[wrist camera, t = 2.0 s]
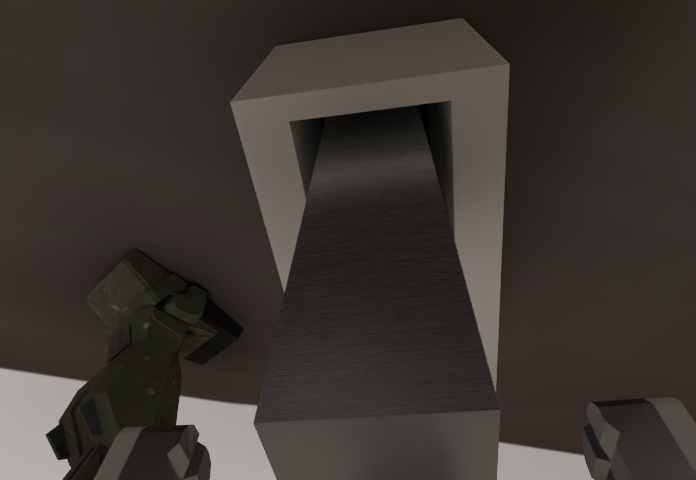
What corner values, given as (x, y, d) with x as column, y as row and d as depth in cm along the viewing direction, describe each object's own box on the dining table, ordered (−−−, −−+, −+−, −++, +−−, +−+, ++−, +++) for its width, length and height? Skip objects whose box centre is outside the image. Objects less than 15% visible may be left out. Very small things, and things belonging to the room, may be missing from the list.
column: (335, 76, 26) (252, 422, 8) (408, 65, 26) (501, 408, 7) (347, 151, 29) (304, 549, 10) (413, 143, 28) (494, 545, 10)
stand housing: (275, 45, 25) (225, 107, 17) (462, 17, 24) (513, 68, 16) (334, 316, 36) (323, 440, 28) (465, 305, 35) (496, 431, 26)
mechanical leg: (285, 355, 38) (-134, 1149, 11) (229, 393, 41) (-212, 1092, 14) (162, 229, 35) (-770, 841, 8) (112, 278, 38) (-701, 851, 11)
